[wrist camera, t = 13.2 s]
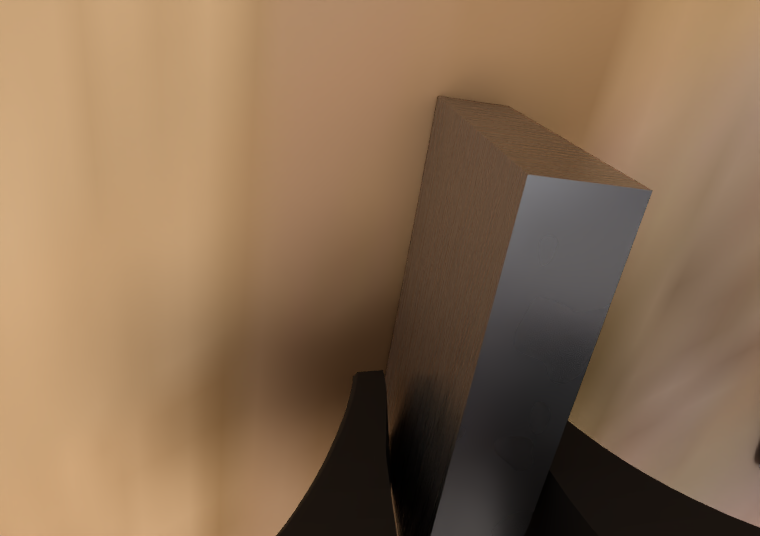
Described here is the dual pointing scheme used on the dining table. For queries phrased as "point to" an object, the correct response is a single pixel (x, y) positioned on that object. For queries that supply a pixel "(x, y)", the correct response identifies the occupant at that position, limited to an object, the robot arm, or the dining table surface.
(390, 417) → the steel block
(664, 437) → the dining table surface
